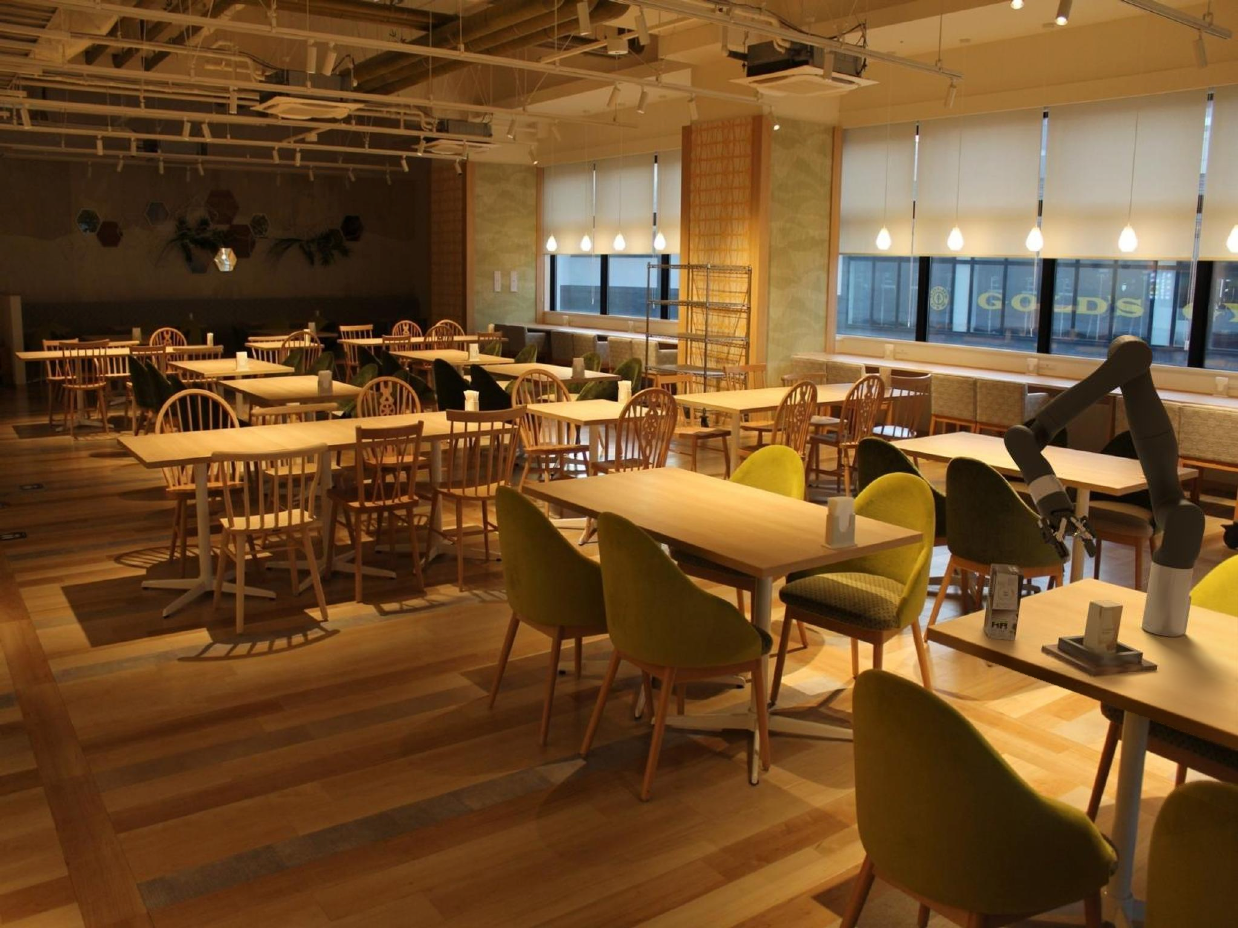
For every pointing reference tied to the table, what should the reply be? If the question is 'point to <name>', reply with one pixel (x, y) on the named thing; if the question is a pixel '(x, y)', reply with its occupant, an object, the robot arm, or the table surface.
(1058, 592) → the table surface
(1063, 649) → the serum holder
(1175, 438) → the robot arm
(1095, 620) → the skincare box
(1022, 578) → the coffee box
